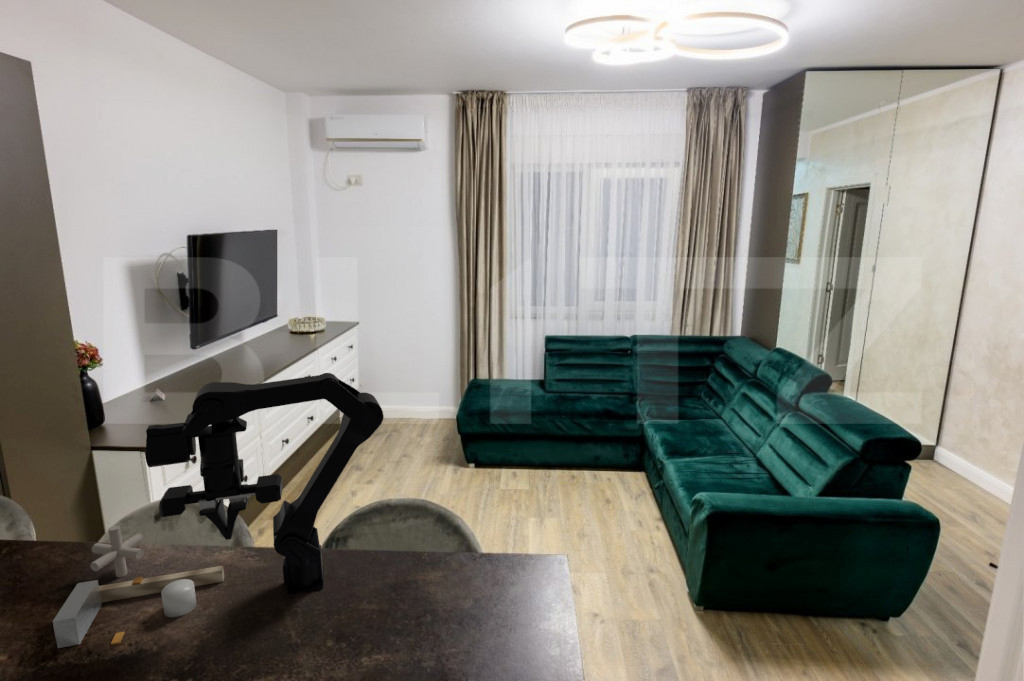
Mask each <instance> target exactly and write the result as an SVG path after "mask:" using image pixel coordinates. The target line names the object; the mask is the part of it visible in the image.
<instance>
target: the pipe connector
mask: <svg viewBox="0 0 1024 681" xmlns="http://www.w3.org/2000/svg"><path fill="white" fill-rule="evenodd" d="M107 530H108V534H109V536H108V537H109V541H110V544H108V543H102V542H101V543H98V542H96V543H95V544H93V545H92V547H91V552H92V553H94V554H97V555H98V554H99V555H102V556H100V557H98V558H97V559H96V560H93V561H92V562H91V563H90V564H89V565H90V569H91V570H92V571H94V572H98V571H99V570H101V569H103V568H104V567H106V565H109V564H110V563H112V562H113V565H114V571H115V576H116V578H122V577H125V576H126V575H127V574H128V568H127V564H126V562H127V561H126V558H128V559H134V560H140V559H142V557H143V556H144V555H145V554H144V549H141V548H135V546H137V545H138V544H140V543H142V542H143V541H144V536H143V535H142V533H139V532H138V533H135V534H134V535H132V536H131V537H129V538H128V539H126V540H125V541H123V538H122V531H121V526H120V525H119V524H118V525H113V526H110V527H108V529H107Z"/></svg>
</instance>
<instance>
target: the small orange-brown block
mask: <svg viewBox="0 0 1024 681" xmlns="http://www.w3.org/2000/svg"><path fill="white" fill-rule="evenodd" d="M124 635H125V631H119V632H115V634H114V636H113V638H112V641H111V643H110V645H111V646H113V645H118V644H121V642H122V640H123V637H124Z"/></svg>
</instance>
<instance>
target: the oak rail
mask: <svg viewBox="0 0 1024 681" xmlns="http://www.w3.org/2000/svg"><path fill="white" fill-rule="evenodd" d="M224 569H225V568H224V565H219V566H211V567H206V568H201V569H200V568H199V569H195V570H188V571H182V572H175V573H170V574H169V573H168V574H164V575H163V574H162V575H158V576H152V577H151V576H150V577H146V578H144V577H143V576H139V577H135V578H134V580H132V579H131V580H127V581H120V582H117V583H116V582H115V583H109V584H103V585H99V590H100V596H101V602H102V603H107V602H113V601H118V600H124V599H130V598H135V597H142V596H149V595H154V594H159V593H160V594H161V591H162V589H163V588H164V587H165V586H167V585H168V584H170V583H172V582H174V581H177V580H182V579H189V580H192V581H193V582H194V588H195V587H199V586H204V585H205V586H206V585H212V584H216V583H217V584H218V583H221V582H222V583H223V582H224V579H225V570H224Z"/></svg>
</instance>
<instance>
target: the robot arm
mask: <svg viewBox="0 0 1024 681" xmlns="http://www.w3.org/2000/svg"><path fill="white" fill-rule="evenodd" d="M321 400H325V401H327V402H329V403H330V404H332V406H333V407H335V408H336V409H337V410H339V411H340V412H341V413H342V417H341V421H340V425H339V428H338V432H337V434H336V435H335V437H334V439H333V441H332V442H331V444H330V445H329V448H328V449H327V450H326V452H325V454H324V456H323V457H322V459H321V460H320V462H319V464H318V466H316V469H315V470H314V471H313V473H312V475H311V477H310V479H308V481H307V483H306V485H305V486H304V488H303V489H302V491H301V493H300V494H299V495H298V496H297V498H296V499H295V500H293V501H292V502H288V501H287V500H284V501H282V495H283V488H284V486H283V477H282V476H281V475H280V474H278V473H275V474H269V475H260V476H257V481H256V483H252V484H248V483H246V484H245V483H244V484H242V483H243V482H244V479H245V478H244V475H245V473H244V472H245V470H244V469H245V468H244V458H239V452H238V443H237V433H241V432H246V431H247V427H248V426H247V425H248V421H247V420H245V419H243V418H241V417H242V416H243V415H246V414H248V413H250V412H254V411H257V410H262V409H269V408H276V407H282V406H289V405H293V404H294V405H295V404H303V403H308V402H313V401H321ZM383 421H384V411H383V409H382V407H381V406H380V404H379V402H378V400H377V399H376V396H374V395H373V394H371V393H369V392H361V391H359V390H357V389H356V388H354V387H353V386H351V385H350V384H348V383H346V382H345V381H343V380H340V379H339V378H338V377H337V376H336V375H335V374H333V373H331V372H324V373H321V374H318V375H311V376H304V377H297V378H296V377H295V378H290V379H283V380H276V381H270V382H262V383H255V384H246V383H239V382H232V381H231V382H228V381H227V382H225V381H224V382H223V381H221V382H220V381H215V382H214V381H213V382H209V383H206V384H205V385H203V386H201V388H199V390H198V391H197V393H196V396H195V398H194V401H193V404H192V410H191V412H190V413H189V414H187V416H186V419H185V422H177V423H168V424H149V425H148V426H147V428H146V430H145V432H146V439H145V440H146V441H145V451H144V457H145V461H146V465H147V466H148V468H155V467H162V466H169V465H170V466H171V465H176V464H185V463H189V461H190V460H191V456H196V454H197V441H196V440H197V439H196V438H198V447H199V448H198V449H199V454H200V456H199V457H200V466H199V468H200V469H199V473H200V477H201V478H202V479H203V480H202V481H203V486H204V487H203V488H204V490H198V491H194V490H193V486H192V485H191V484H188V485H181V486H172V487H168V488H167V489H166V490H165V492H164V494H163V496H162V497H161V499H160V500H159V502H158V503H159V504H158V507H159V508H158V510H159V516H160V517H161V518H167V517H174V516H181V515H182V514H183V513H185V512H184V511H186V509H187V505H193V504H199V508H200V509H199V512H198V515H199V516H200V517H206V518H207V519H208V520H209V521H210V522H211V523H212V524H213V525H215V527H216V528H217V530H218V531H219V533H220V534H221V535H222V536H223V538H224V539H225V540H226V541H227V540H231V539H232V537H233V534H234V529H235V526H236V525H235V524H236V521H237V518H238V516H239V514H240V511H241V512H242V511H245V510H246V509H247V508H248V507H247V506H248V502H249V498H250V497H252V496H255V500H256V501H257V502H259V503H260V504H269V503H274V502H275V503H277V502H279V501H282V504H281V506H280V509H279V511H278V512H277V513H276V514H274V516H273V517H272V522H273V523H272V527H273V528H272V531H273V534H272V535H273V548H274V551H275V552H276V553H277V554H278V555H280V556H282V557H284V559H283V561H282V575H283V576H282V577H283V585H284V586H285V587H286V594H287V595H292V594H297V593H303V592H308V591H314V590H320V589H323V588H324V585H325V582H324V578H325V577H324V576H325V575H324V573H325V572H324V570H325V567H324V566H323V556H322V545H321V544H320V539H319V532H318V528H317V527H315V522H316V519H317V515H318V512H319V510H320V509H321V507H322V505H323V504H324V503H325V500H327V497H328V495H329V494H330V492H331V491H332V489H333V488H334V486H335V484H336V483H337V481H338V479H339V478H340V477H341V475H342V473H343V471H344V470H345V468H346V466H347V465H348V464H349V462H350V460H351V458H352V457H353V455H354V454H355V452H356V451H357V448H359V447H360V446H361V445H362V444H364V443H365V442H366V441H368V440H369V439H370V438H371V437H372V435H374V433H375V432H376V431H377V430H378V429H379V427H380V426H381V424H382V423H383ZM224 500H228V502H229V503H228V506H227V510H225V507H224V506H225V504H224V502H225V501H224Z"/></svg>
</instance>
